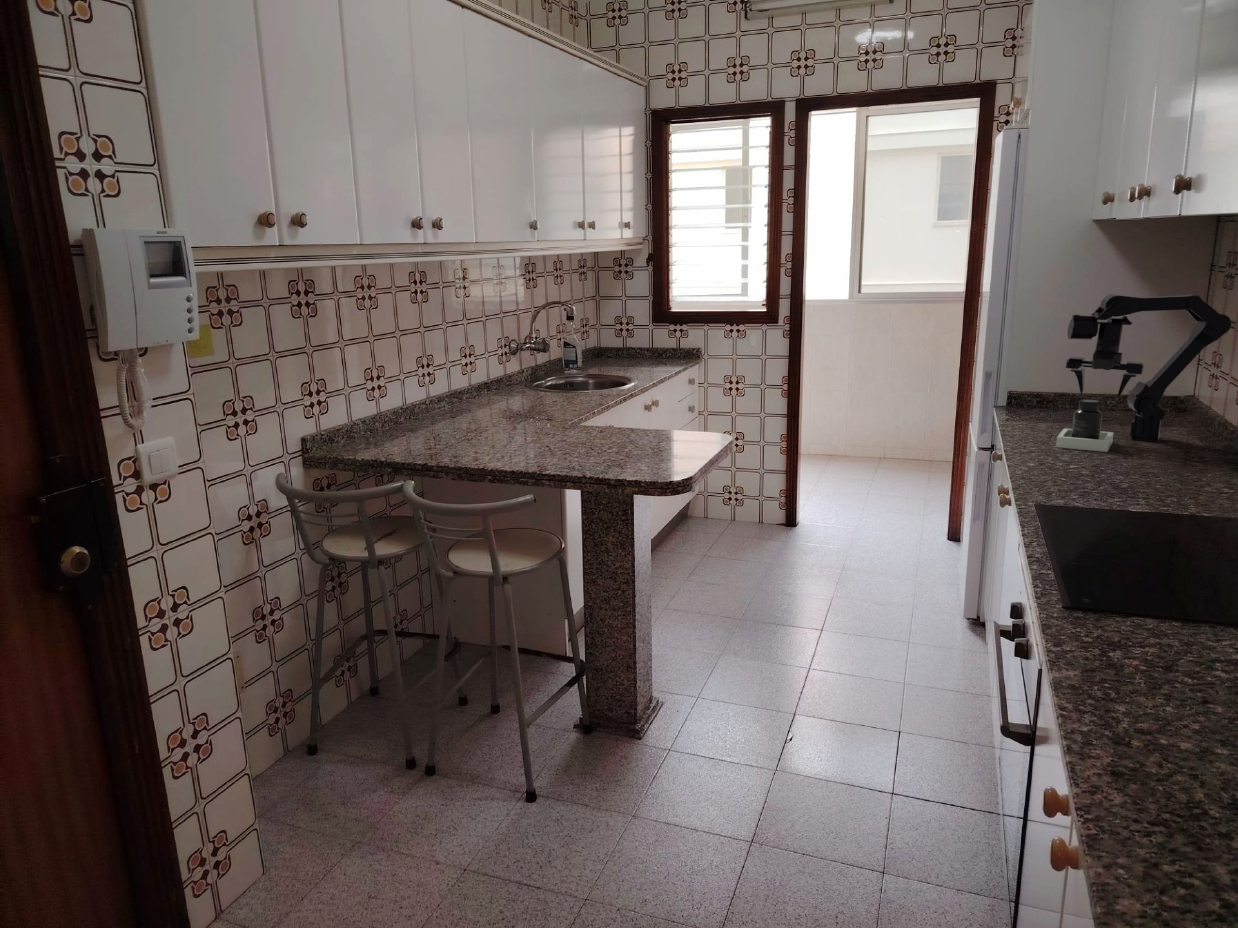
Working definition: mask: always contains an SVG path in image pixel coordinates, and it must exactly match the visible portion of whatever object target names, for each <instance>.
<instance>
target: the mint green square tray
mask: <svg viewBox="0 0 1238 928" xmlns="http://www.w3.org/2000/svg"><path fill="white" fill-rule="evenodd" d="M1113 439H1114V432H1111V431H1101V430H1100V438H1099V440H1098V439H1086V438H1074V437H1072V428H1066V427H1065V428H1063V429H1062V430H1061V431H1060V433H1059V434H1058V435H1057V436H1056V443H1055V444H1056V445H1055V448H1060V449H1061V448H1062V449H1072V450H1081V451H1082V450H1083V451H1084V450H1085V451H1093V452H1094V451H1095V452H1103V453H1104V452H1105V453H1108V452H1109V449H1110V448H1111V446H1112V445H1113Z"/></svg>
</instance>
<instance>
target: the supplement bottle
mask: <svg viewBox="0 0 1238 928" xmlns="http://www.w3.org/2000/svg"><path fill="white" fill-rule="evenodd" d="M1099 408H1100V401H1099V400H1095V399H1081V400H1079V402H1078V409H1077V410H1075V411H1074V413H1073V420H1072V421H1073V422H1072V428H1071V429H1072V437H1074V438H1086V439H1098V440H1099V438H1100V431H1101V426H1102V419H1103V414H1102V412H1101V411H1100V410H1099Z"/></svg>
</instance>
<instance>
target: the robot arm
mask: <svg viewBox="0 0 1238 928" xmlns="http://www.w3.org/2000/svg"><path fill="white" fill-rule="evenodd" d="M1099 305H1100V306H1099V307H1098V308H1097V309H1096V310H1095V311H1094V312H1092V313H1091V314H1090V315H1083V314H1081V315H1079V314H1072V315H1071V319H1070V321H1069V324H1068V326H1067V339H1068V340H1088V341H1089V340H1093V338H1095V337H1097V339H1096V345H1095V349H1094V353H1092V355H1093V356H1092V359H1091V360H1086V358H1085V357H1079V356H1071V357H1070V358H1068V359H1067V360H1066V364H1065V368H1066V369H1070V372H1073V373H1074V374H1075V376H1076V378H1077V382H1078V388H1079V392H1080V395H1083V394H1084V390H1085V371H1086V368H1092V369H1093V370H1098V369H1099V370H1104V371H1111V370H1118V371H1124V372H1125V373H1124V374H1123V375H1122V379H1121V382H1120V385H1119V389H1118V392H1117V399H1120V397H1121V395H1122V393H1123V391H1125V388H1126V387H1127V385H1128V383H1129V382H1130V380H1131V379H1132V378H1136V377H1137V376H1138V375H1143V373H1144V369H1145V364H1144V362H1141V361H1129V360H1128V362H1126V363H1122V359H1123V352H1119V351H1120V346H1121V339H1122V336H1123V335H1122V334H1123V327H1124V326H1131V325H1133V322H1132V321H1130V319H1129V318H1128V316H1129V315H1132V314H1135V313H1140V312H1157V311H1158V312H1159V311H1181V310H1185V311H1187V312H1188V314H1189V315H1190V316H1191V317H1192V319H1194V321H1196V323H1195V324H1194V326H1193V328H1192V329H1191V330H1192V331H1191V332H1190V336H1189V337H1188V339H1187V340H1186V341H1185V342H1184V343H1183V344H1182V345H1181V346H1180V348H1178V350H1177V351H1176V352H1175V353H1174V354H1173V355H1172V356H1171V357H1170V358H1169V360H1167V361H1166V362H1165V364H1163V366H1162V367H1161V368H1160V369H1159V370H1158V371H1157V372H1156V374H1154V375H1153V377H1152V378H1151V379H1149V380H1147V381H1146V382H1143V381H1140V380H1139V381H1138V382H1137V383H1136V384H1135V386H1134V387H1133V388H1132V389H1131V390H1129V391H1128V396H1127V398H1126V401H1127V405H1128V407H1129V408H1130V409H1132V411H1133V414H1134V419H1133V420H1131V422H1130V423H1131V424H1130V432H1129V436H1130V437H1131V439H1130V440H1136V441H1146V442H1147V441H1148V442H1159V440H1160V436H1161V435H1160V432H1161V423H1162V421H1163V419H1164V417H1165V416H1166V412H1165V411H1164V410H1163V409H1162V408H1161V407H1160V406H1159V404H1160V403H1161V401H1162V399H1163V396H1164V395H1165V391H1166V390H1167V388H1168V387H1169V386H1170V385H1171V384H1172V383H1173V382H1174V381H1175V379H1176V378H1177V377H1179V376H1180V374H1181V373H1182V372H1183V371H1184V370H1185V369H1186V368H1187V367H1188V366H1189V364H1191V363H1192V362H1193V360H1194V359H1195V358H1196V357H1197V356H1198V355H1199V354H1200V353H1201V352H1202V351H1203V350H1204V348H1206V347H1208V346H1209V345H1211V344H1212V343H1214V342H1216V341H1218V340H1219V339H1221V337H1223V336H1224V335H1225V334H1227V333H1228V332H1229V331H1230V330H1231V328H1232V320H1231V318H1230V317H1229V316H1228V315H1226V314H1224V313H1219V312H1218V311H1217V310H1216V309H1215V308H1213V307H1212V306H1211V305H1209V304H1208V303H1207V302H1206V301H1205V300H1203V299H1202V298H1201V296H1199V295H1198V294H1190V293H1189V294H1185V295H1167V296H1166V295H1163V296H1141V297H1139V296H1131V295H1123V294H1122V295H1121V294H1113V293H1111V294H1107V295H1105V296H1104V297H1103V299H1101V302H1100V304H1099ZM1127 315H1128V316H1127ZM1115 317H1116V318H1115ZM1119 317H1120V318H1119ZM1106 320H1107V321H1106Z"/></svg>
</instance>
